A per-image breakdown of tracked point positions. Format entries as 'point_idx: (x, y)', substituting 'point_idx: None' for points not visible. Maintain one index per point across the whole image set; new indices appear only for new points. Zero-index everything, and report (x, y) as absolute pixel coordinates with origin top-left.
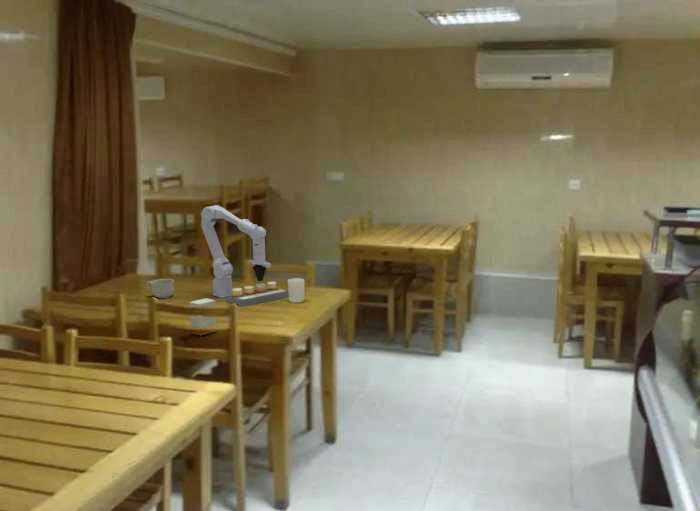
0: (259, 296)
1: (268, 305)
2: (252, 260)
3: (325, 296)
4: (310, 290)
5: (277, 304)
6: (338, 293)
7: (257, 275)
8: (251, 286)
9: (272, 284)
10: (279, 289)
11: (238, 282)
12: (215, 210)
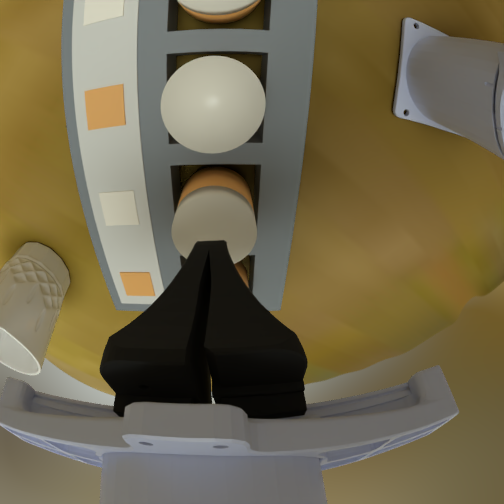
0: (73, 113)
1: (21, 123)
2: (402, 441)
3: (75, 353)
4: None
5: (18, 172)
6: (98, 382)
7: (211, 275)
8: (205, 132)
9: None
10: None
11: (490, 279)
12: None
